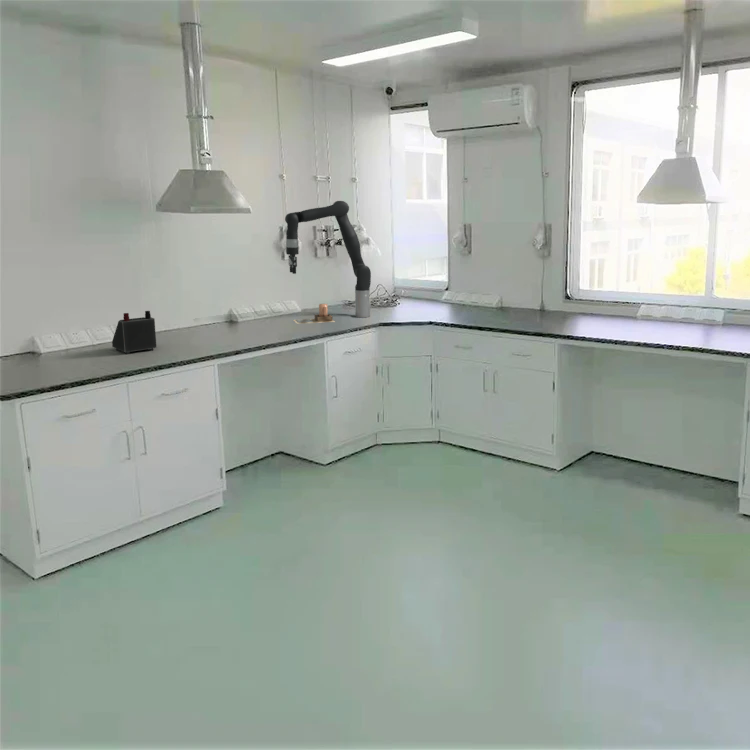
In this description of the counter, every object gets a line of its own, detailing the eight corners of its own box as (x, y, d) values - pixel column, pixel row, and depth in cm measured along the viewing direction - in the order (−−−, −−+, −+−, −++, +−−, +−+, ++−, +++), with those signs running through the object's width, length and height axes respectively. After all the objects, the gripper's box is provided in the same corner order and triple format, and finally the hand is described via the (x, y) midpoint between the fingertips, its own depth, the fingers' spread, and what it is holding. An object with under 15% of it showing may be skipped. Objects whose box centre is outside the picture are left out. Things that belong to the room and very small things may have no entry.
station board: (330, 319, 437) (330, 313, 436) (335, 323, 424) (335, 316, 423) (292, 321, 430) (292, 315, 429) (297, 325, 417) (296, 318, 416)
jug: (326, 319, 432) (326, 303, 429) (329, 321, 425) (329, 305, 422) (318, 319, 430) (318, 303, 428) (321, 321, 423) (321, 305, 421)
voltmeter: (143, 345, 359) (140, 307, 354) (156, 350, 347) (153, 310, 342) (112, 349, 349) (108, 310, 344) (125, 355, 337) (121, 314, 332)
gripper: (300, 247, 419) (301, 274, 423) (296, 245, 433) (296, 271, 437) (288, 247, 417) (289, 274, 421) (284, 245, 430) (284, 272, 434)
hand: (292, 273), depth 429 cm, fingers open, 8 cm apart
